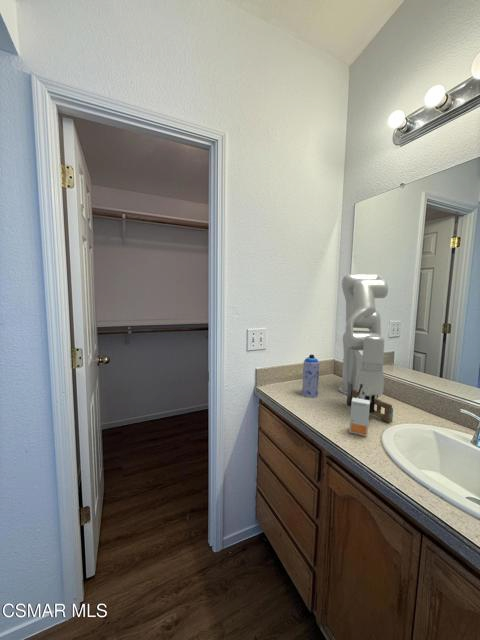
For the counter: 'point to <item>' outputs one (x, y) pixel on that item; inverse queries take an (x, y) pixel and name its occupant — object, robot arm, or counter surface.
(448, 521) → the counter surface
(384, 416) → the gate
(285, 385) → the counter surface
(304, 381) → the aerosol can
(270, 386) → the counter surface
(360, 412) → the skincare box
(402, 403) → the counter surface
